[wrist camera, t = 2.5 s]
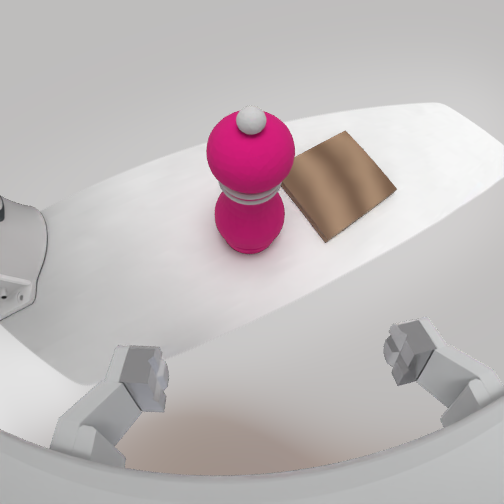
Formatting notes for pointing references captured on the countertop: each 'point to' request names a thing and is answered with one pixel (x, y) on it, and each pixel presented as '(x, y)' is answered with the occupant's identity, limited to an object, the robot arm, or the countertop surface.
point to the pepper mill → (250, 176)
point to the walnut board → (336, 184)
